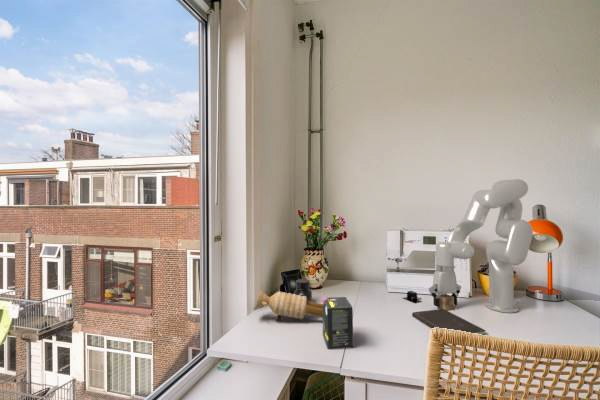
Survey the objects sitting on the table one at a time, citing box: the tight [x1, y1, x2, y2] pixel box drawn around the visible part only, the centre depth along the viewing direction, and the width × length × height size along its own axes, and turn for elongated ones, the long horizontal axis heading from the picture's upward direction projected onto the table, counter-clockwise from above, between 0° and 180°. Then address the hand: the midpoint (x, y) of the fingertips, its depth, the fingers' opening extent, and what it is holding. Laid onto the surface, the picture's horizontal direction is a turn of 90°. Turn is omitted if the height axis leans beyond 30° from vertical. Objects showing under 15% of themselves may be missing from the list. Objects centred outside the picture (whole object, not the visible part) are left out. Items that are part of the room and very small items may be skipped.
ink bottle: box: [293, 278, 313, 302], centre depth 146 cm, size 10×9×12 cm
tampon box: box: [322, 296, 354, 350], centre depth 108 cm, size 11×9×15 cm
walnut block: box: [437, 294, 455, 312], centre depth 139 cm, size 5×5×6 cm
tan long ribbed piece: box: [256, 289, 323, 322], centre depth 127 cm, size 10×12×30 cm
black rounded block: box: [402, 290, 423, 304], centre depth 151 cm, size 12×7×5 cm, turn 24°
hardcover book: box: [411, 308, 487, 335], centre depth 121 cm, size 16×23×2 cm
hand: (445, 305), depth 139 cm, fingers open, 9 cm apart
